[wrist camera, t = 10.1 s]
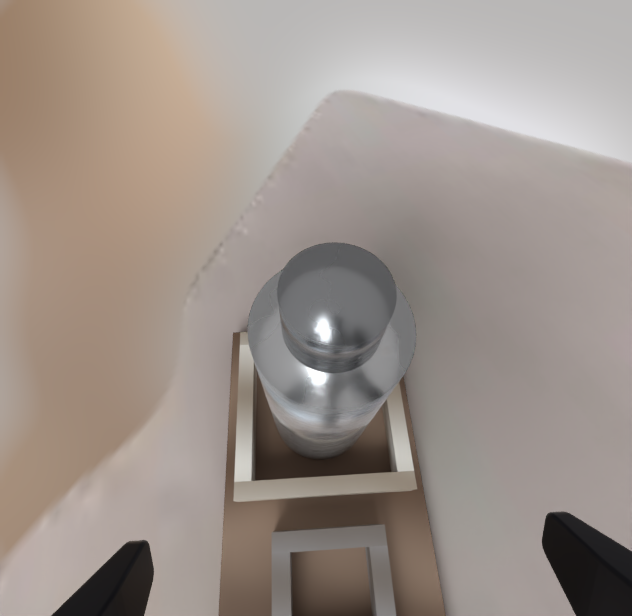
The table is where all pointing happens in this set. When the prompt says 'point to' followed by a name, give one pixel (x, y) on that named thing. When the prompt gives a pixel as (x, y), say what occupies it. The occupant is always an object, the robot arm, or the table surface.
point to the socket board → (323, 516)
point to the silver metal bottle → (329, 346)
